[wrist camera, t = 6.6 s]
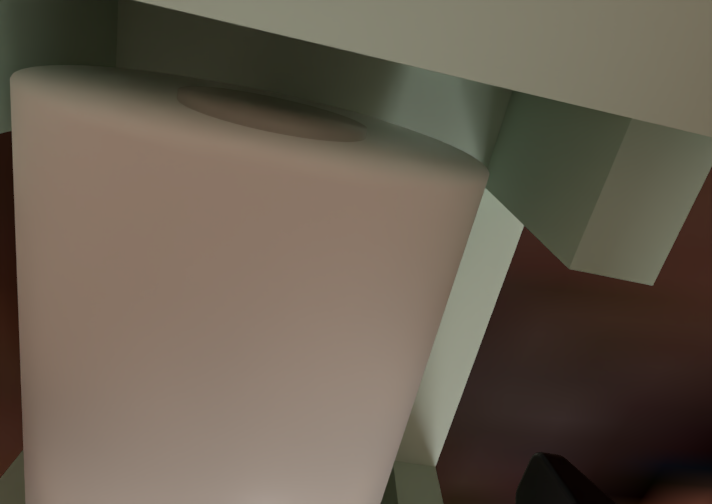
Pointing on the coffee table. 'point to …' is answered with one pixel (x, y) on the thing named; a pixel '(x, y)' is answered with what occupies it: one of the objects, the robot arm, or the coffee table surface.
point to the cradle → (449, 126)
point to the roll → (222, 287)
